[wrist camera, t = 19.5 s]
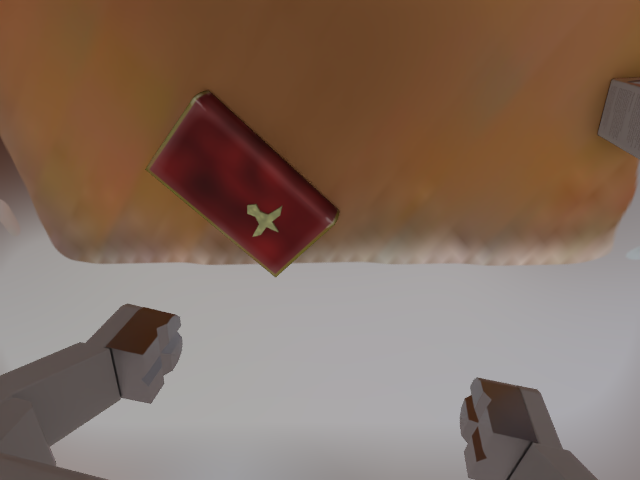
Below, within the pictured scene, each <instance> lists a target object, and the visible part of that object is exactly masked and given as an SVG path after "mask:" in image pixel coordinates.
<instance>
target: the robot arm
mask: <svg viewBox="0 0 640 480" xmlns="http://www.w3.org/2000/svg"><path fill="white" fill-rule="evenodd" d="M180 326H181V323H180V317H179V316H177V315H175V314H171V313H166V312H161V311H158V310H154V309H149V308H145V307H139V306H135V305H131V304H125V305H123V306H121V307H120V308H119V310H117V311H116V312H115V313H114V314H113V315H112V316H111V317H110V319H108V320H107V322H106V323H105V324H104V325H103V326H102V327H101V328H100V329H99V330H98V331H97V332H96V333H95V334H94V335H93V336H92V337H91V338H90V339H89V340H88V341H87V342H86V343H81V342H80V343H77V344H75V345H72V346H70V347H68V348H65V349H63V350H60V351H58V352H56V353H53V354H51V355H48V356H46V357H44V358H41V359H39V360H37V361H34V362H32V363H30V364H27V365H25V366H22V367H20V368H18V369H15V370H13V371H10V372H8V373H5V374H3V375H1V376H0V480H107V479H103V478H99V477H95V476H92V475H88V474H83V473H79V472H76V471H72V470H68V469H64V468H60V467H56V461H55V459H54V456H53V454H52V451H51V449H50V446H51V445H53V444H54V443H56V442H57V441H59V440H60V439H62V438H64V437H65V436H67V435H68V434H69V433H71V432H72V431H74V430H75V429H77V428H78V427H80V426H81V425H83V424H84V423H86V422H87V421H89V420H90V419H92V418H93V417H95V416H96V415H98V414H99V413H101V412H102V411H104V410H105V409H107V408H108V407H110V406H111V405H113V404H114V403H116V402H117V401H119V400H120V399H121V398H126V399H130V400H135V401H140V402H145V403H150V404H151V403H152V401H153V400H154V398H155V397H156V395H157V394H158V392H159V390H160V389H161V388H162V386H163V384H164V378H163V376H164V375H165V374H167V373H169V372H171V371H172V370H173V369H174V367H175V366H176V364H177V362H178V360H179V357H180V354H181V351H182V337H181V336H180V335H179V333H178V332H177V330H178V329H179V328H180ZM470 389H471V394H472V395H471V396H469V397H467V398H465V400H464V402H463V405H462V408H461V414H460V429H461V435H462V437H463V438H464V439H465V440H466V442H467V443H468V445H467V447H466V449H465V451H464V455H465V461H466V466H467V472H468V477H469V478H471V479H475V480H598V479H597V478H596V477H595V476H594V475H593V474H592V473H591V472H590V471H589V470H588V469H587V468H586V467H585V466H584V465H583V464H582V463H581V462H580V461H579V460H578V459H577V458H576V457H575V456H574V455H573V454H572V453H571V452H570V451H568V450H564V449H563V448H562V446H561V443H560V441H559V438H558V436H557V433H556V430H555V428H554V425H553V423H552V421H551V418H550V415H549V413H548V410H547V408H546V406H545V403H544V401H543V398H542V396H541V393H540V392H539V391H538V390H537V389H532V388H527V387H522V386H515V385H511V384H507V383H501V382H497V381H492V380H486V379H482V378H476V379H475V380H473V382H472V384H471V387H470ZM120 397H121V398H120Z"/></svg>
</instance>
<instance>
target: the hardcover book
mask: <svg viewBox="0 0 640 480" xmlns="http://www.w3.org/2000/svg"><path fill="white" fill-rule="evenodd" d="M145 170H146V171H148V172H149V173H150V174H151V175H153V176H154V177H155V178H156V179H157V180H159V181H160V182H161V183H162V184H163V185H165V186H166V187H167V188H168V189H169V190H171V191H172V192H173V193H174V194H175V195H177V196H178V197H179V198H180V199H182V200H183V201H184V202H185V203H186V204H188V205H189V206H190V207H191V208H192V209H194V210H195V211H196V212H197V213H198V214H200V215H201V216H202V217H203V218H204V219H206V220H207V221H208V222H209V223H210V224H212V225H213V226H214V227H215V228H217V229H218V230H219V231H220V232H221V233H223V234H224V235H225V236H226V237H227V238H229V239H230V240H231V241H232V242H233V243H235V244H236V245H237V246H238V247H239V248H241V249H242V250H243V251H244V252H245V253H247V254H248V255H249V256H250V257H252V258H253V259H254V260H255V261H256V262H258V263H259V264H260V265H261V266H262V267H264V268H265V269H266V270H267V271H269V272H270V273H271V274H272V275H273V276H275V277H277V276H278V275H279V274H280V273H281V272H282V271H283V270H284V269H286V268H287V267H288V266H289V265H290V264H291V263H292V262H293V261H294V260H296V259H297V258H298V257H299V256H300V255H301V254H302V253H303V252H304V251H306V250H307V249H308V248H309V247H310V246H311V245H312V244H313V243H314V242H316V241H317V240H318V239H319V238H320V237H321V236H322V235H323V234H324V233H326V232H327V231H328V230H329V229H330V228H331V227H332V226H333V225H334V224H335V223H336V221H337V219H338V216H339V210H338V209H337V208H335V207H334V206H333V205H332V204H331V203H330V202H329V201H328V200H327V199H326V198H325V197H324V196H322V195H321V194H320V193H319V192H318V191H317V190H316V189H315V188H314V187H313V186H312V185H310V184H309V183H308V182H307V181H306V180H305V179H304V178H303V177H302V176H301V175H300V174H299V173H297V172H296V171H295V170H294V169H293V168H292V167H291V166H290V165H289V164H288V163H287V162H286V161H284V160H283V159H282V158H281V157H280V156H279V155H278V154H277V153H276V152H275V151H274V150H272V149H271V148H270V147H269V146H268V145H267V144H266V143H265V142H264V141H263V140H262V139H261V138H259V137H258V136H257V135H256V134H255V133H254V132H253V131H252V130H251V129H250V128H249V127H248V126H246V125H245V124H244V123H243V122H242V121H241V120H240V119H239V118H238V117H237V116H236V115H234V114H233V113H232V112H231V111H230V110H229V109H228V108H227V107H226V106H225V105H224V104H223V103H221V102H220V101H219V100H218V99H217V98H216V97H215V96H214V95H213V94H212V93H211V92H210V91H203V92H201V93H199V94H197V95H196V96H195V97H194V98H193V99H192V101H191V102H190V103H189V105H188V106H187V108H186V109H185V111H184V112H183V114H182V115H181V117H180V118H179V120H178V121H177V123H176V124H175V126H174V127H173V129H172V130H171V132H170V133H169V135H168V136H167V138H166V139H165V141H164V142H163V144H162V145H161V147H160V148H159V150H158V151H157V153H156V154H155V156H154V157H153V159H152V160H151V162H150V163H149V165H148V166H147V168H146V169H145Z"/></svg>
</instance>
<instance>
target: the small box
mask: <svg viewBox="0 0 640 480" xmlns="http://www.w3.org/2000/svg"><path fill="white" fill-rule="evenodd" d="M598 135H599V136H601V137H602V138H604V139H606V140H608V141H609V142H611V143H613V144H614V145H616V146H618V147H619V148H621V149H623V150H624V151H626V152H628V153H629V154H631V155H633V156H635V157H636V158H638V159H640V77H635V78H617V79H612V81H611V84H610V88H609V92H608V96H607V99H606V103H605V107H604V111H603V115H602V119H601V123H600V127H599V131H598Z"/></svg>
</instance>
